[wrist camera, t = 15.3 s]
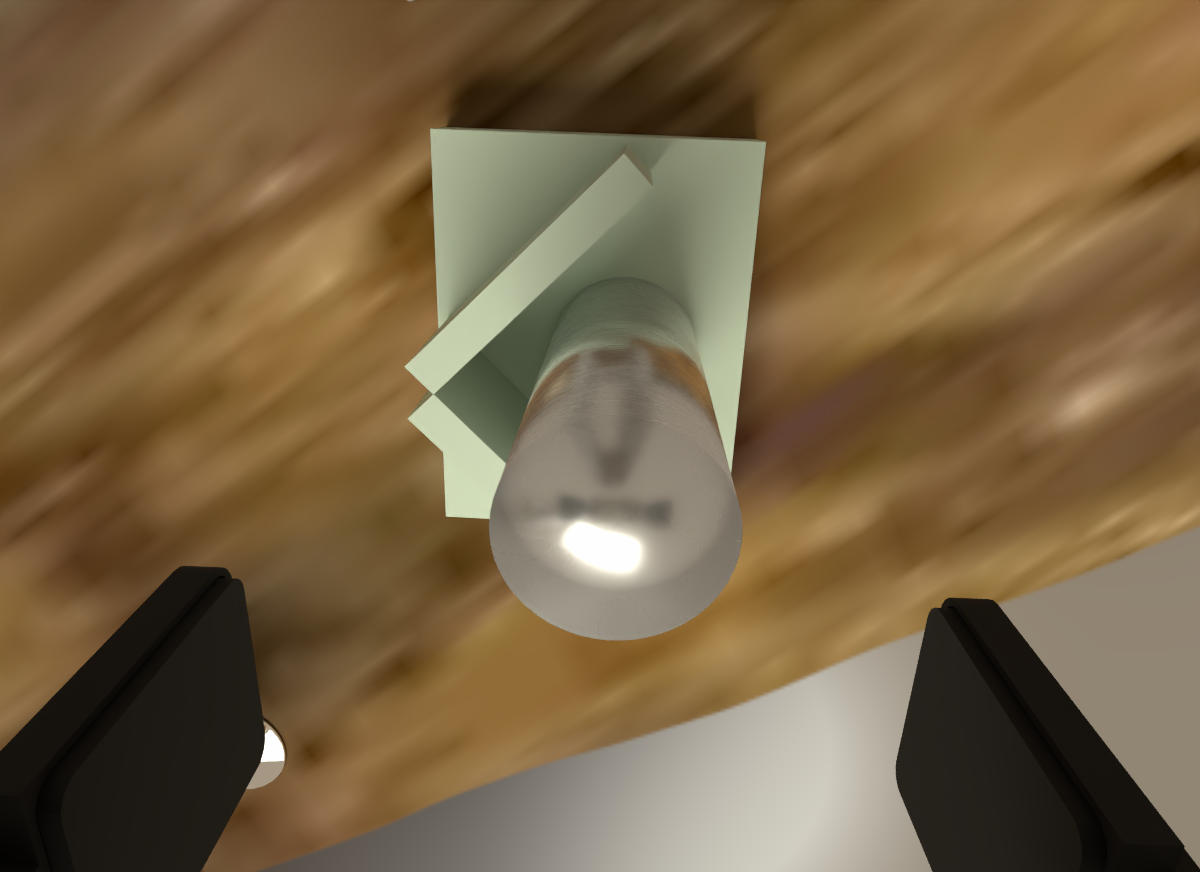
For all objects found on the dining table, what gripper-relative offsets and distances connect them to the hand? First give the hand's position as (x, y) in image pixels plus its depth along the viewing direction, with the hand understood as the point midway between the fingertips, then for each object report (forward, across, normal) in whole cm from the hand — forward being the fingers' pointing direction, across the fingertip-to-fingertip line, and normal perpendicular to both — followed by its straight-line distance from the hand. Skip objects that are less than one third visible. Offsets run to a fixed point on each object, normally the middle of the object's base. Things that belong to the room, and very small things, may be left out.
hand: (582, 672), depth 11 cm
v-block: (+17, 0, 0) cm, 17 cm away
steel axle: (+15, -1, 0) cm, 15 cm away
